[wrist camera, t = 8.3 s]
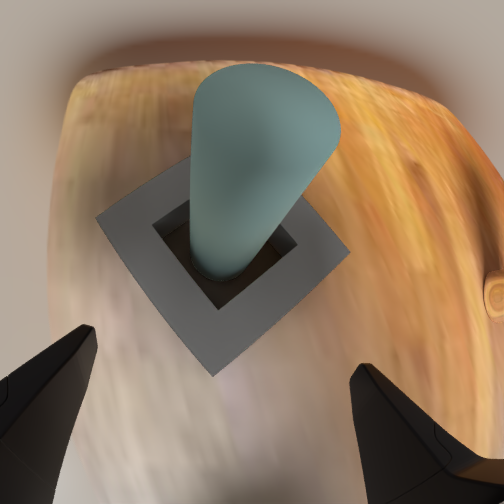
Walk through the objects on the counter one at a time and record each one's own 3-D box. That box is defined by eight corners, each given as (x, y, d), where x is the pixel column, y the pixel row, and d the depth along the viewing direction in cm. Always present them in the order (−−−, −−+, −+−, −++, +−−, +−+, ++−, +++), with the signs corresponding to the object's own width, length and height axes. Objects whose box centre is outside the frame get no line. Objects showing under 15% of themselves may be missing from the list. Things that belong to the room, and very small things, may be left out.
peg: (262, 256, 20) (365, 132, 7) (216, 293, 18) (265, 199, 6) (225, 212, 20) (273, 53, 8) (177, 245, 19) (163, 92, 6)
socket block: (329, 264, 20) (350, 252, 18) (209, 370, 17) (212, 376, 14) (232, 154, 22) (238, 129, 19) (108, 235, 18) (95, 217, 15)
